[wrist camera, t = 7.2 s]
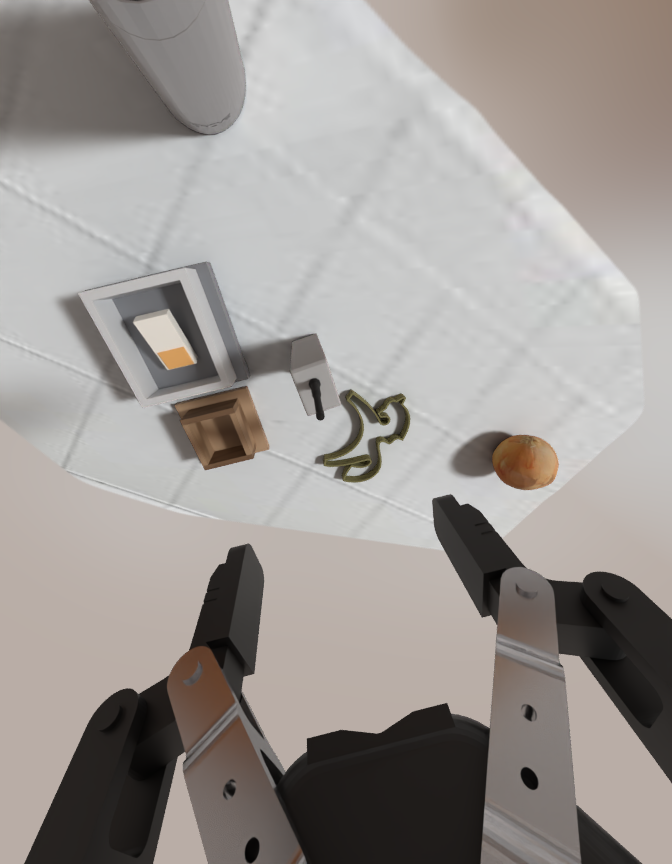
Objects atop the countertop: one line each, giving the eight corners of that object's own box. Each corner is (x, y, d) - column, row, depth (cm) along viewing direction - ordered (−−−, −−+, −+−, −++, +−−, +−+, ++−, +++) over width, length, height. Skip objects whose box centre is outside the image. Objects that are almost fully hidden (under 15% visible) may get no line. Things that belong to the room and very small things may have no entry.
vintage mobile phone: (303, 373, 46) (310, 458, 23) (292, 341, 43) (286, 402, 21) (327, 365, 45) (355, 443, 23) (316, 332, 43) (336, 385, 21)
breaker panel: (94, 290, 38) (61, 291, 32) (210, 262, 38) (196, 259, 32) (152, 398, 45) (133, 414, 39) (250, 375, 45) (243, 387, 39)
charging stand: (176, 402, 45) (163, 415, 41) (247, 385, 45) (241, 397, 41) (206, 461, 50) (197, 479, 46) (269, 446, 50) (266, 462, 46)
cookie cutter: (352, 377, 47) (354, 380, 45) (417, 398, 50) (422, 402, 48) (317, 468, 54) (317, 475, 52) (376, 482, 57) (378, 489, 55)
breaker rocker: (135, 316, 35) (132, 322, 34) (168, 308, 35) (166, 314, 34) (169, 364, 41) (167, 370, 40) (197, 357, 41) (196, 363, 40)
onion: (529, 417, 54) (575, 443, 45) (532, 459, 59) (574, 490, 50) (478, 436, 55) (514, 466, 46) (485, 477, 59) (519, 511, 50)
